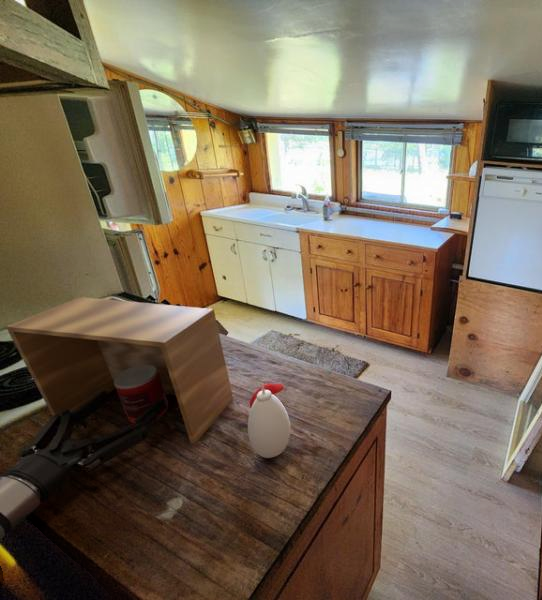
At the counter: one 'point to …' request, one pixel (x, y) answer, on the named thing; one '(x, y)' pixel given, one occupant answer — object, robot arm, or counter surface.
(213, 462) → the counter surface
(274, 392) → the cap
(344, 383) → the counter surface
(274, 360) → the counter surface
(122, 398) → the canned food
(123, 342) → the cupboard
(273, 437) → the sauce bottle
